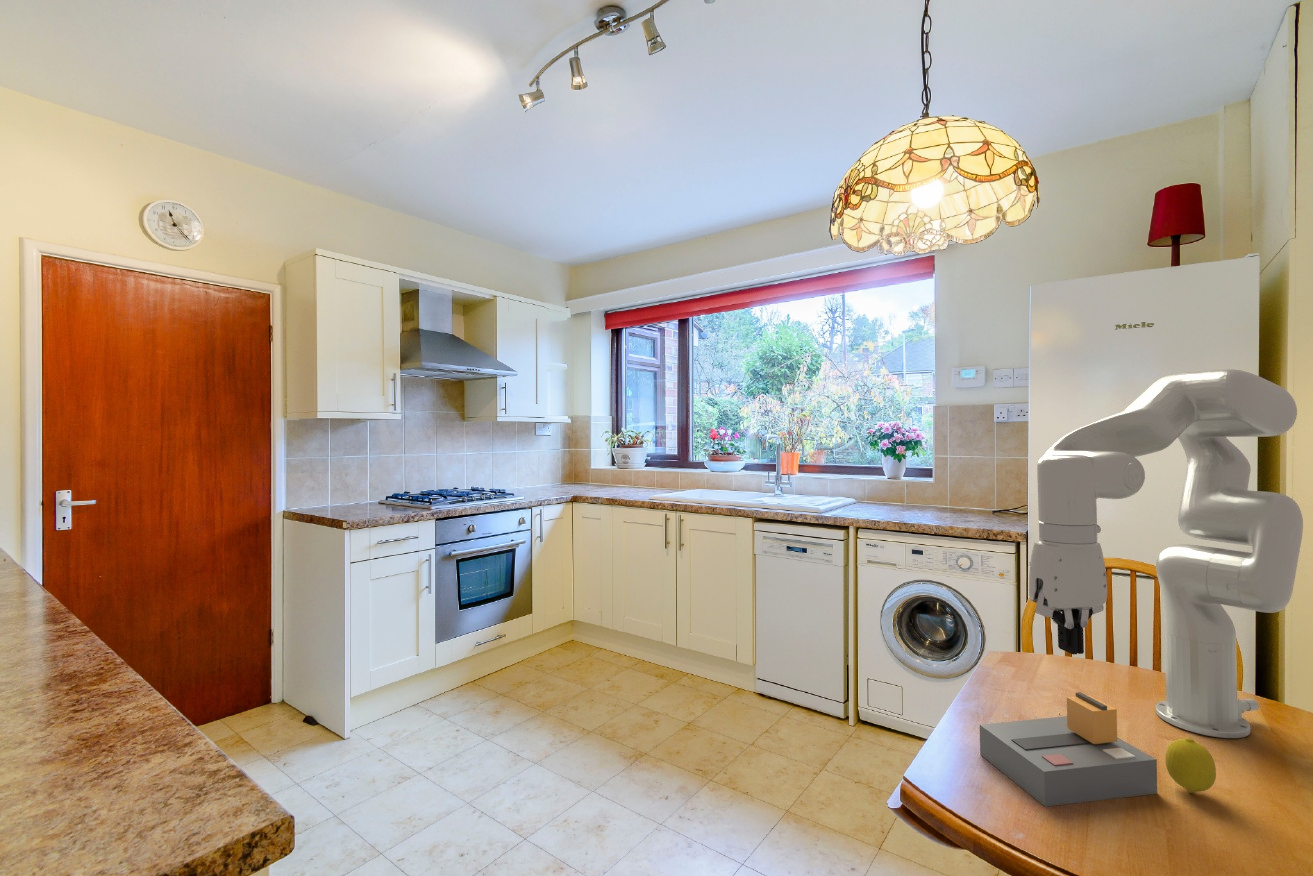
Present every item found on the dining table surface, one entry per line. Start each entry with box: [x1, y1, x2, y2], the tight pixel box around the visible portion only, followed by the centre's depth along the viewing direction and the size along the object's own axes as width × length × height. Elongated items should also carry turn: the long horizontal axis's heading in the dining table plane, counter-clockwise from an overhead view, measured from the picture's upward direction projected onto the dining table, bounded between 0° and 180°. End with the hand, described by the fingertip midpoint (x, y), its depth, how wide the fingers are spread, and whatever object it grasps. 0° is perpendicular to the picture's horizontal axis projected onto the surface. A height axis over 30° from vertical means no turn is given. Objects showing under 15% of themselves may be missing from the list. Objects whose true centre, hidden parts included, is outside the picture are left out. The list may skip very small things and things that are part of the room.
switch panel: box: [979, 715, 1158, 807], centre depth 94 cm, size 18×14×5 cm
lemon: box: [1164, 737, 1217, 794], centre depth 88 cm, size 6×6×8 cm
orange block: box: [1066, 691, 1118, 744], centre depth 94 cm, size 4×5×6 cm
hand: (1070, 650), depth 94 cm, fingers closed
